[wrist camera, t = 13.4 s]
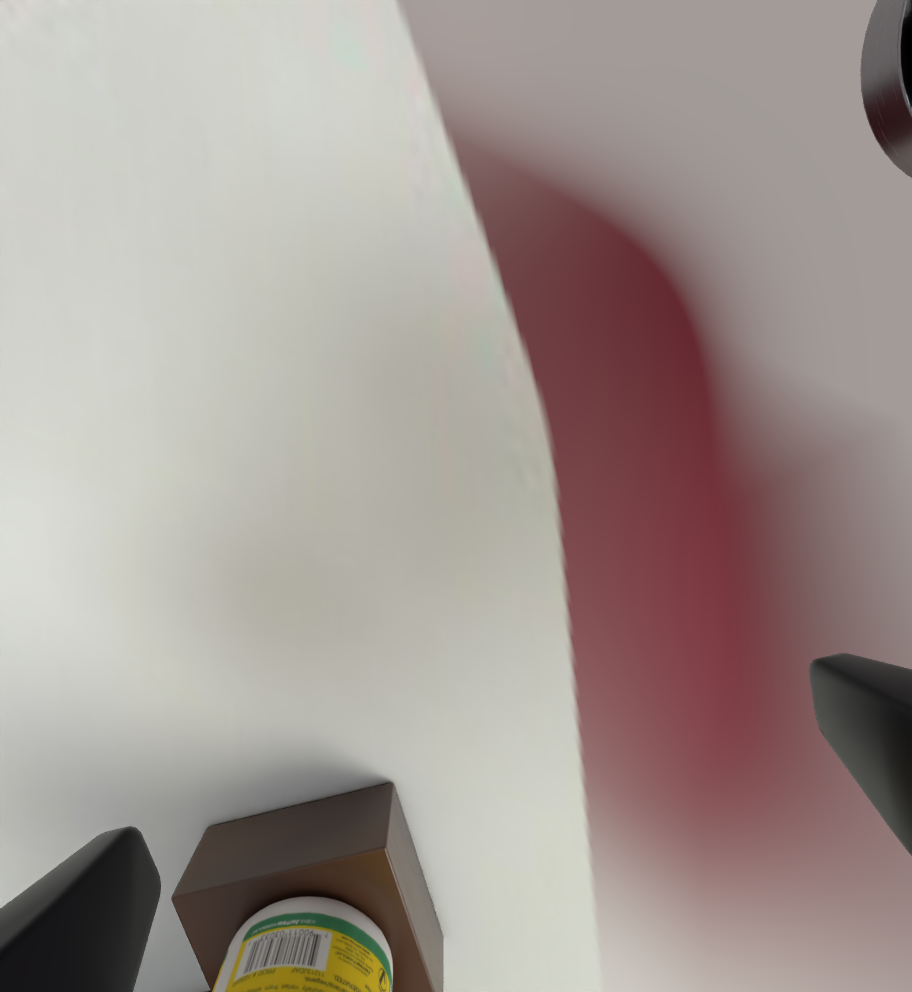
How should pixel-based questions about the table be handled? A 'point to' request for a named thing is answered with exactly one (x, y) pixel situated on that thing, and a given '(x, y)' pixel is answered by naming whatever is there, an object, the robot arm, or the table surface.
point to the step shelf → (316, 879)
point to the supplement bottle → (307, 950)
